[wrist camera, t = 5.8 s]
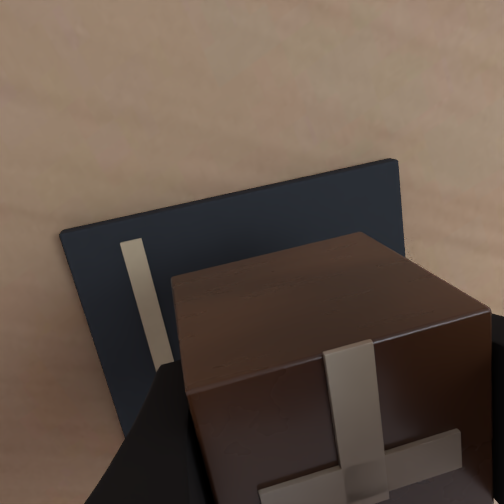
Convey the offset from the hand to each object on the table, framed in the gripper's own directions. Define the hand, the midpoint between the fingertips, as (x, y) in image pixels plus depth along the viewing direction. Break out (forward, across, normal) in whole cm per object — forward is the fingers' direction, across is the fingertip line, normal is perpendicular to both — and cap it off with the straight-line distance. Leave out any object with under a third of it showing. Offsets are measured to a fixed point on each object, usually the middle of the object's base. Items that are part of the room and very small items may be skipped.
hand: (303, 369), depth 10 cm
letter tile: (+1, 0, 0) cm, 1 cm away
